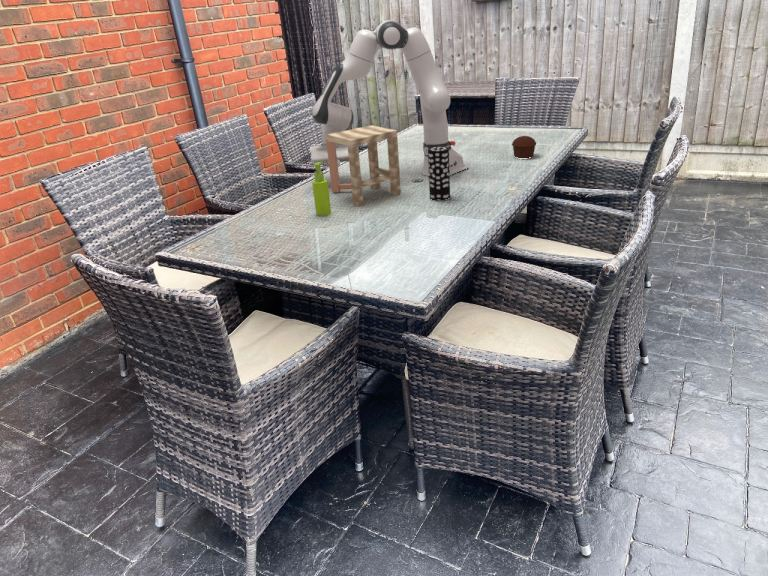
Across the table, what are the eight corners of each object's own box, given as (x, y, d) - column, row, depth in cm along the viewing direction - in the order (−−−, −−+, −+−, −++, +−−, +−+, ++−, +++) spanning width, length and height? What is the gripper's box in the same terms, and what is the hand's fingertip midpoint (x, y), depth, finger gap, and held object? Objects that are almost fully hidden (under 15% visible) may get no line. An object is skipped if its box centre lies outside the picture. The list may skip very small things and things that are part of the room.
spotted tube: (449, 201, 234) (447, 151, 225) (428, 201, 236) (426, 151, 227) (451, 194, 241) (450, 146, 232) (431, 194, 243) (429, 146, 234)
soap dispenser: (334, 210, 234) (328, 160, 225) (327, 216, 228) (321, 165, 219) (321, 209, 236) (315, 160, 227) (313, 215, 230) (307, 165, 221)
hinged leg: (361, 189, 255) (357, 136, 245) (360, 191, 252) (355, 138, 242) (333, 190, 257) (327, 137, 247) (332, 192, 255) (325, 139, 244)
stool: (376, 185, 260) (371, 125, 249) (400, 193, 247) (396, 130, 235) (334, 197, 250) (327, 134, 238) (357, 206, 236) (351, 140, 224)
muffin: (532, 153, 291) (533, 133, 287) (538, 159, 281) (539, 138, 277) (508, 155, 291) (509, 135, 287) (514, 161, 281) (514, 140, 277)
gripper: (308, 141, 258) (310, 168, 254) (354, 136, 259) (357, 164, 255) (309, 148, 264) (312, 175, 260) (355, 144, 265) (357, 171, 261)
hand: (334, 170), depth 257 cm, fingers closed
